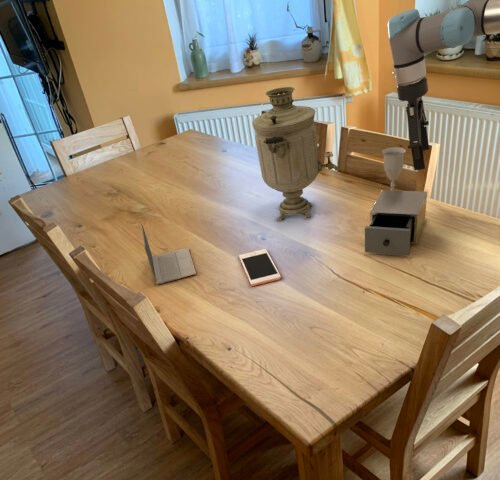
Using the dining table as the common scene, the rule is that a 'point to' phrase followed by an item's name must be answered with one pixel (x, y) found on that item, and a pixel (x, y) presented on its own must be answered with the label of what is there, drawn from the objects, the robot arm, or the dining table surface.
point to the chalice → (393, 163)
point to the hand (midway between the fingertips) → (422, 159)
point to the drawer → (389, 235)
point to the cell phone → (259, 267)
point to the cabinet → (402, 207)
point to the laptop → (169, 263)
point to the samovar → (289, 150)
